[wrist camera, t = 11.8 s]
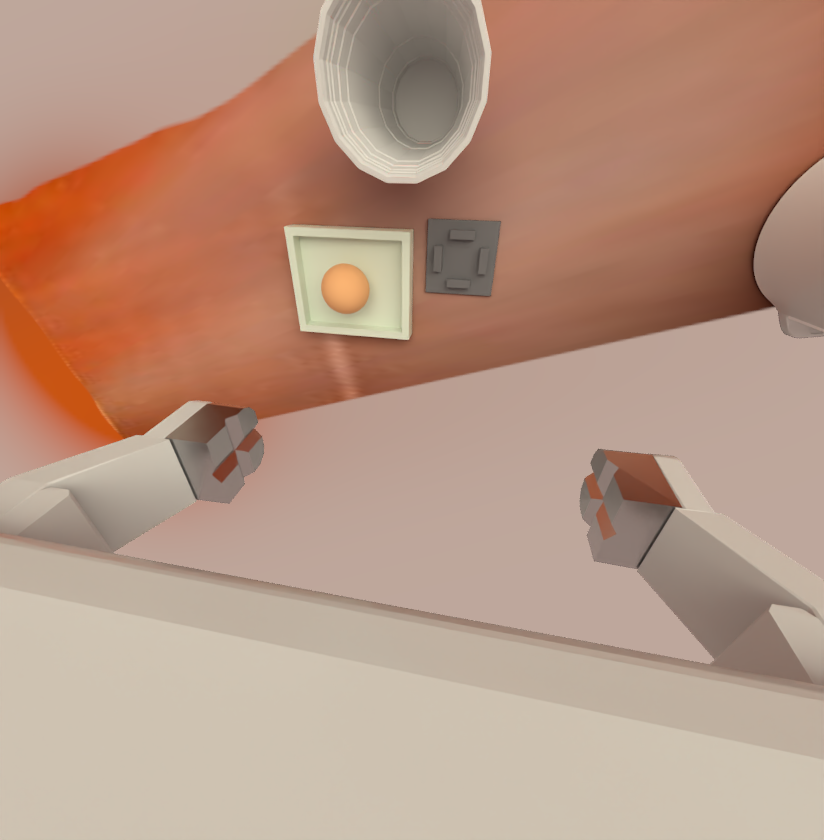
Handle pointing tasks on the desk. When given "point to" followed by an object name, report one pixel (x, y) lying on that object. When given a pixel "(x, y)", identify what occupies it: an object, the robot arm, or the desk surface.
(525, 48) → the desk surface
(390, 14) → the plastic cup
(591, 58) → the desk surface
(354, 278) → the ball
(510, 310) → the desk surface
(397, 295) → the tray
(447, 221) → the coaster
